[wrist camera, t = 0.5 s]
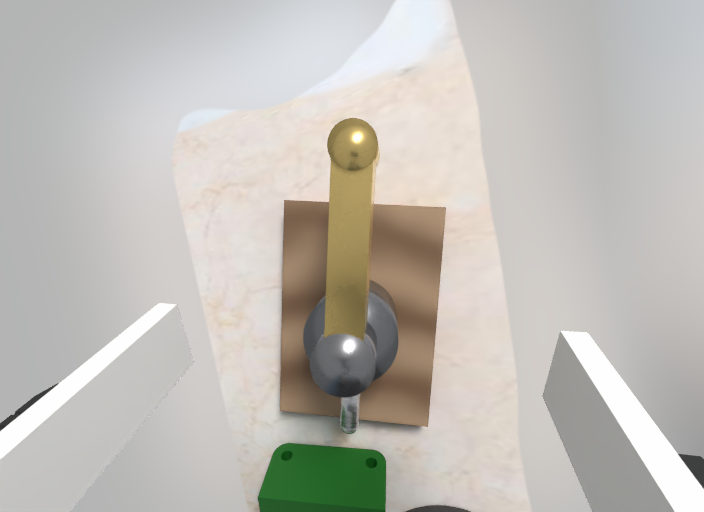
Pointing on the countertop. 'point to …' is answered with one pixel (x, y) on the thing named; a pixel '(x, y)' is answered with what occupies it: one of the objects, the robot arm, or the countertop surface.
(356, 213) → the yellow bar
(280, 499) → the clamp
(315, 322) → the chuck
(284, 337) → the stand
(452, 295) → the countertop surface
